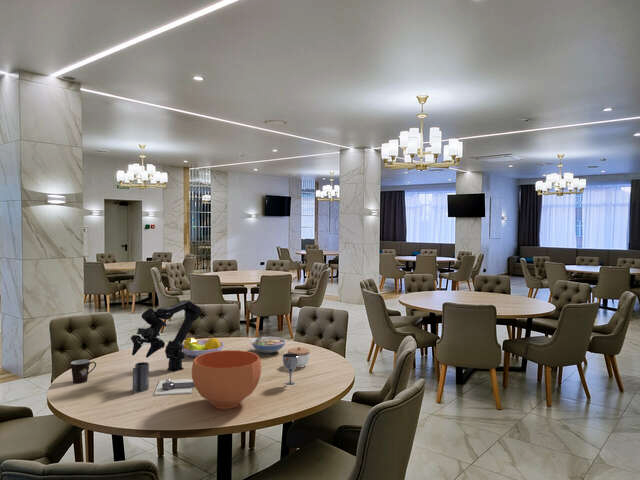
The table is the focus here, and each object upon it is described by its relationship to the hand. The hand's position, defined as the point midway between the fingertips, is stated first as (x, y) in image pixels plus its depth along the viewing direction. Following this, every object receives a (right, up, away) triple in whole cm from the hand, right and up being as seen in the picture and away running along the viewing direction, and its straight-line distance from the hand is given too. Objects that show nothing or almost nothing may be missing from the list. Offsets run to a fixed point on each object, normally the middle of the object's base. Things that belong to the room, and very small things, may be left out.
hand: (139, 356), depth 230 cm
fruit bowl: (+17, -13, +55) cm, 59 cm away
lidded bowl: (+79, -14, +34) cm, 87 cm away
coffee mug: (-30, -14, +3) cm, 33 cm away
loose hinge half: (+4, -14, -11) cm, 18 cm away
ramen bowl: (+58, -14, +63) cm, 87 cm away
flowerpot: (+50, -15, -26) cm, 58 cm away
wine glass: (+76, -15, +1) cm, 78 cm away
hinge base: (+20, -14, -5) cm, 25 cm away
